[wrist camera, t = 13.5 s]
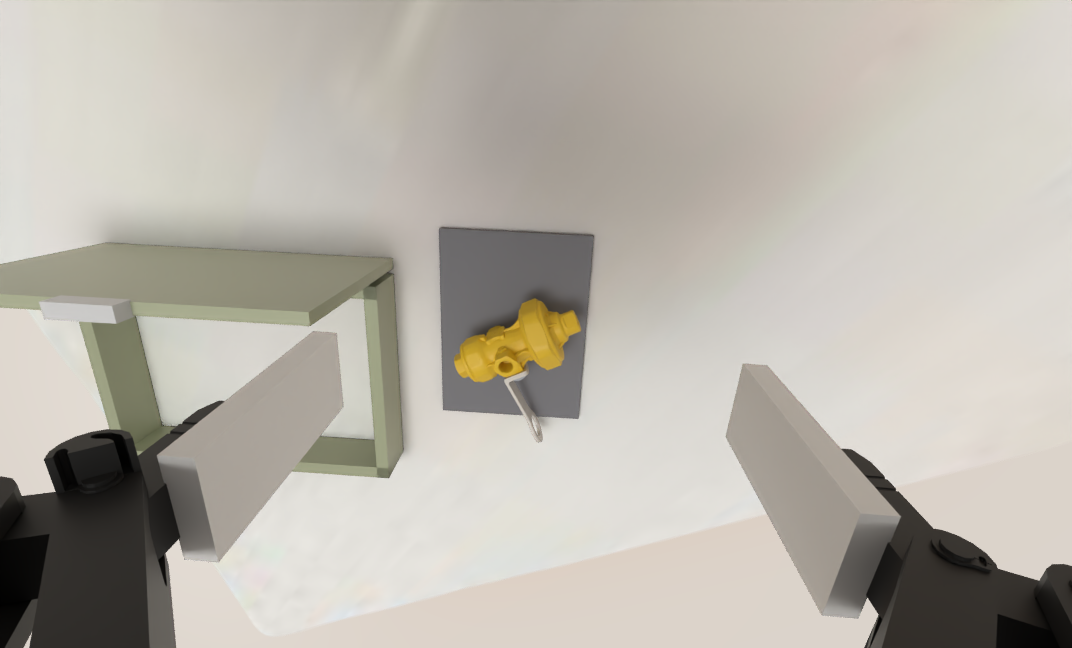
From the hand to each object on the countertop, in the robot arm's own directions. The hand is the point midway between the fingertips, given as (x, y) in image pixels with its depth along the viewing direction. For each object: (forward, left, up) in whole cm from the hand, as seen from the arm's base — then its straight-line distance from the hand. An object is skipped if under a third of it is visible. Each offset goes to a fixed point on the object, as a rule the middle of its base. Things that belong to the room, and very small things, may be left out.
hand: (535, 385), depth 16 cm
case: (+11, -25, -24) cm, 37 cm away
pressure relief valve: (+10, -1, -24) cm, 26 cm away
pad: (+7, -3, -24) cm, 25 cm away
